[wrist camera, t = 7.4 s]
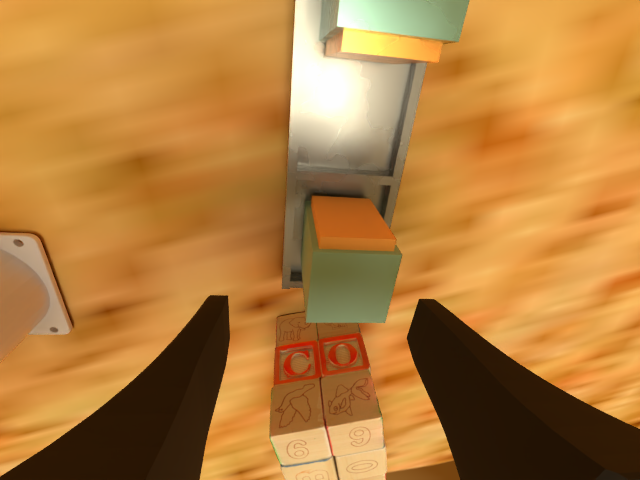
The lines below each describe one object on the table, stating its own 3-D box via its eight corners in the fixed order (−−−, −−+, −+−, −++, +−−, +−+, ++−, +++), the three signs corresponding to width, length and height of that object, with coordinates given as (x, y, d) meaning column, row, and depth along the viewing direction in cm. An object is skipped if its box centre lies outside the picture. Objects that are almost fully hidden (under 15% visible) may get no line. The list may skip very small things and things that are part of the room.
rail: (282, 271, 22) (281, 350, 16) (299, -98, 13) (311, -245, 7) (369, 273, 23) (400, 350, 17) (439, -73, 14) (562, -185, 8)
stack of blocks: (273, 314, 24) (265, 508, 14) (353, 301, 24) (406, 482, 14) (312, 458, 35) (324, 633, 24) (367, 448, 35) (404, 617, 24)
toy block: (300, 257, 21) (306, 322, 15) (305, 191, 18) (314, 240, 13) (360, 259, 21) (385, 322, 16) (371, 194, 19) (405, 243, 14)
